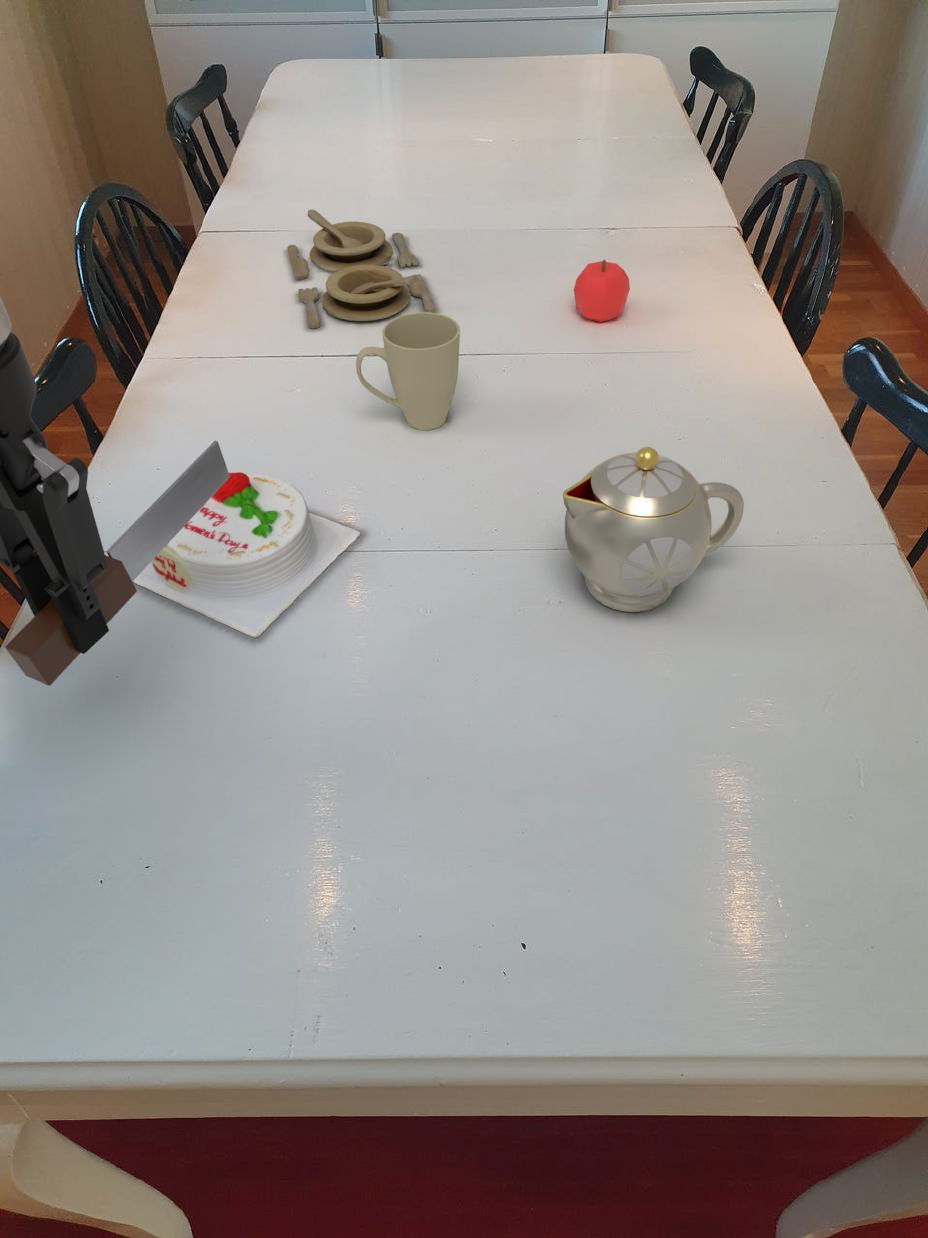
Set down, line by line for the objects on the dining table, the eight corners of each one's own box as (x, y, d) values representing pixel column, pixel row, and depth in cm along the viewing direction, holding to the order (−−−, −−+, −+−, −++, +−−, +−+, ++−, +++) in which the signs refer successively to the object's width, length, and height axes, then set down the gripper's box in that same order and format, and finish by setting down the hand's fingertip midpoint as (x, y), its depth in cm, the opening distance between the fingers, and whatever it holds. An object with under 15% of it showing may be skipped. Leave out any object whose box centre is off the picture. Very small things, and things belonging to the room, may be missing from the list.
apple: (596, 296, 136) (601, 243, 130) (638, 314, 131) (645, 259, 126) (560, 314, 132) (563, 260, 126) (602, 333, 128) (607, 278, 122)
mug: (418, 389, 118) (413, 302, 110) (477, 416, 113) (475, 326, 105) (359, 426, 112) (348, 337, 104) (417, 455, 108) (411, 364, 99)
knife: (49, 686, 66) (26, 653, 63) (25, 676, 66) (0, 642, 63) (240, 479, 79) (228, 444, 76) (217, 473, 80) (205, 437, 77)
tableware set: (287, 248, 150) (281, 211, 146) (403, 234, 153) (401, 198, 149) (308, 333, 130) (301, 293, 125) (442, 314, 132) (440, 275, 128)
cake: (232, 489, 105) (219, 427, 99) (364, 537, 98) (358, 473, 93) (118, 579, 93) (96, 514, 87) (259, 640, 87) (245, 574, 81)
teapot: (573, 644, 86) (586, 506, 74) (539, 551, 95) (547, 416, 83) (754, 617, 88) (794, 480, 76) (703, 529, 97) (732, 395, 85)
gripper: (96, 345, 52) (190, 634, 68) (-93, 294, 57) (38, 574, 73) (-5, 410, 47) (122, 703, 63) (-202, 348, 52) (-36, 634, 68)
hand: (77, 633), depth 68 cm, fingers closed on knife, 2 cm apart
